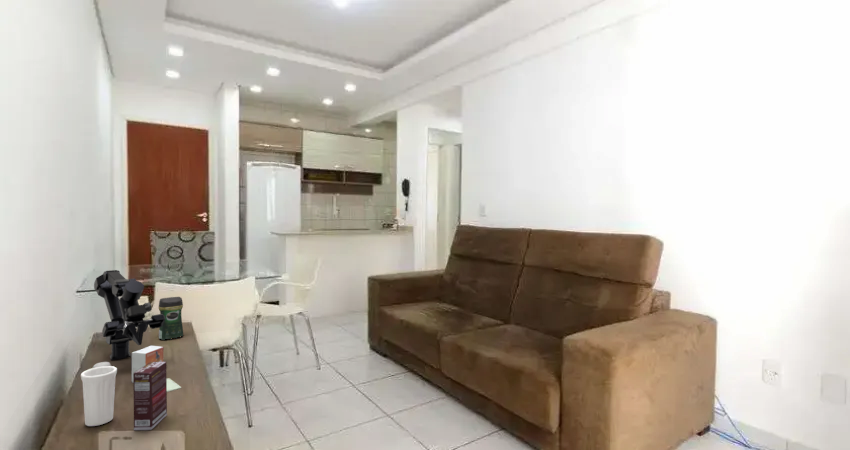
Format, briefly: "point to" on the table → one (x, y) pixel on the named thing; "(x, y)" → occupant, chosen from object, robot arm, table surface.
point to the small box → (146, 357)
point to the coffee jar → (171, 317)
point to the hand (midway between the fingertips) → (140, 344)
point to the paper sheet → (172, 385)
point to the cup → (98, 394)
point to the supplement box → (150, 395)
